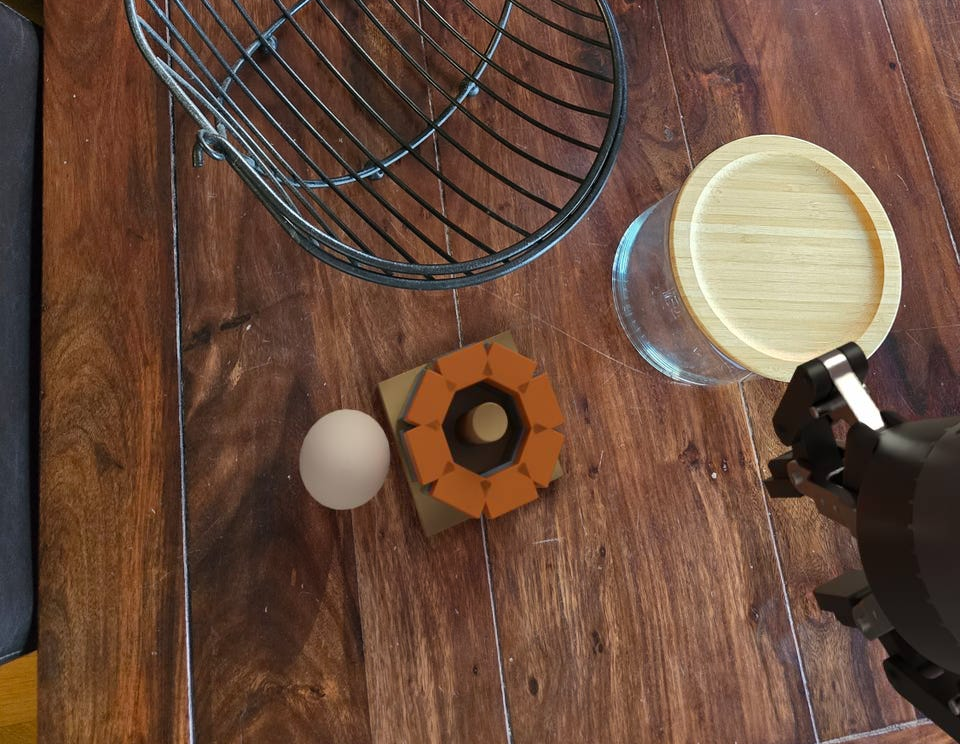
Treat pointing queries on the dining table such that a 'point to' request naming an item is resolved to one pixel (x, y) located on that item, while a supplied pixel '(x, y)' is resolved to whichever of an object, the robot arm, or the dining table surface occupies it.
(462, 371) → the orange ring
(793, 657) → the dining table surface
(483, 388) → the ring stack
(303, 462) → the egg
